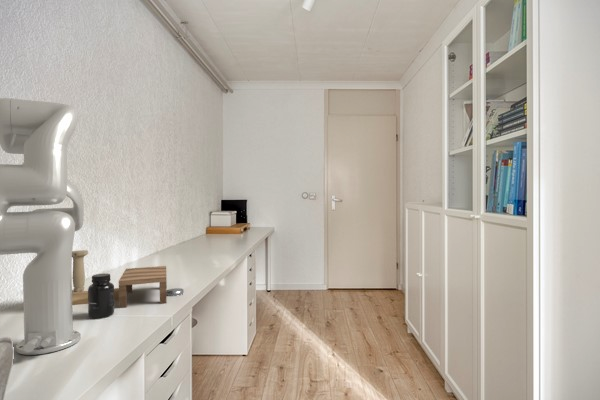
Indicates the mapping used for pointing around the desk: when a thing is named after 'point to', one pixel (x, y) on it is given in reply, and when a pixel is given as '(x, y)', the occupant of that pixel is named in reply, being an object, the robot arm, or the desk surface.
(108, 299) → the supplement bottle
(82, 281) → the beige pillar figurine
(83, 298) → the oak stick
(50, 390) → the desk surface
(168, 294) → the steel disc
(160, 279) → the desk riser
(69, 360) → the desk surface
